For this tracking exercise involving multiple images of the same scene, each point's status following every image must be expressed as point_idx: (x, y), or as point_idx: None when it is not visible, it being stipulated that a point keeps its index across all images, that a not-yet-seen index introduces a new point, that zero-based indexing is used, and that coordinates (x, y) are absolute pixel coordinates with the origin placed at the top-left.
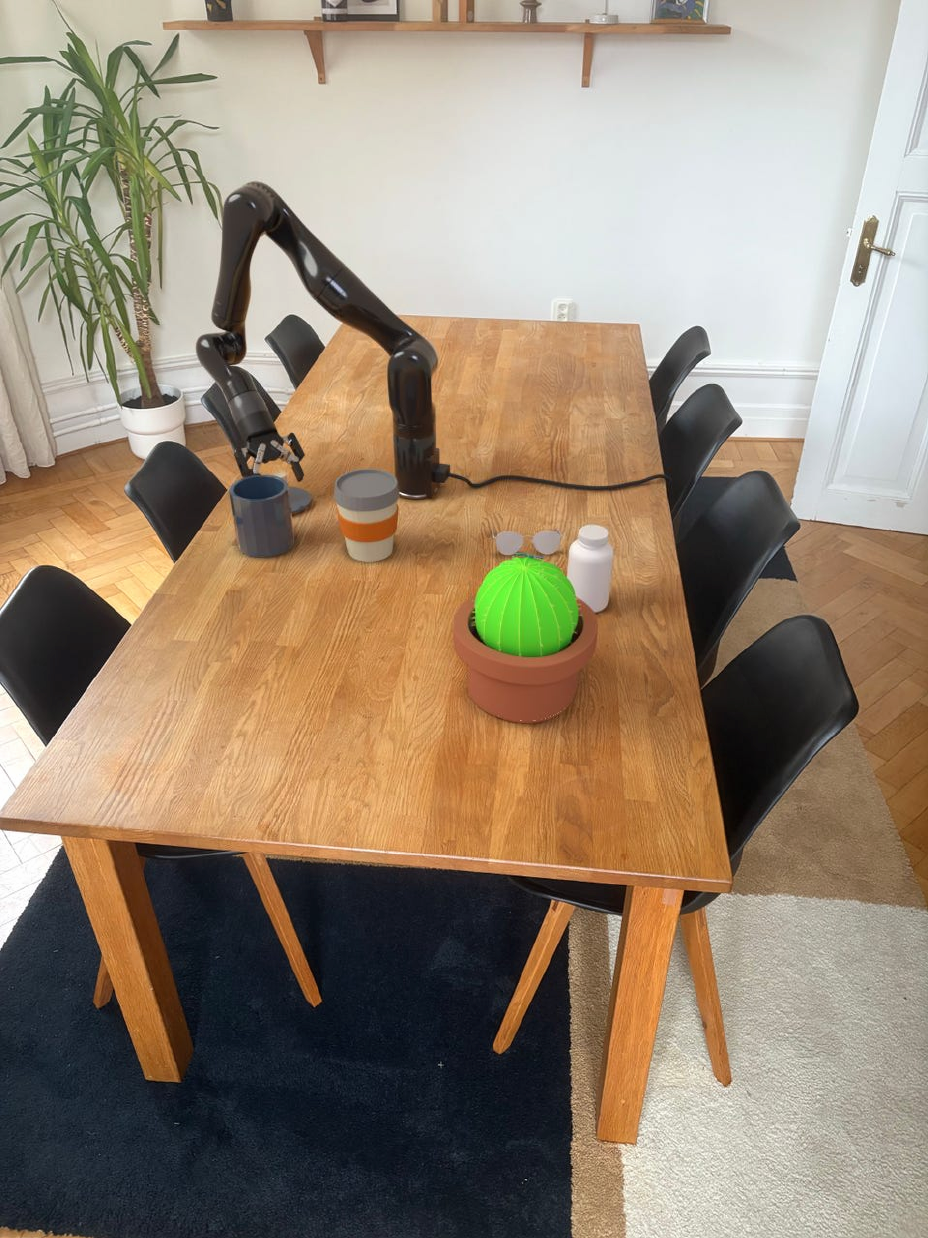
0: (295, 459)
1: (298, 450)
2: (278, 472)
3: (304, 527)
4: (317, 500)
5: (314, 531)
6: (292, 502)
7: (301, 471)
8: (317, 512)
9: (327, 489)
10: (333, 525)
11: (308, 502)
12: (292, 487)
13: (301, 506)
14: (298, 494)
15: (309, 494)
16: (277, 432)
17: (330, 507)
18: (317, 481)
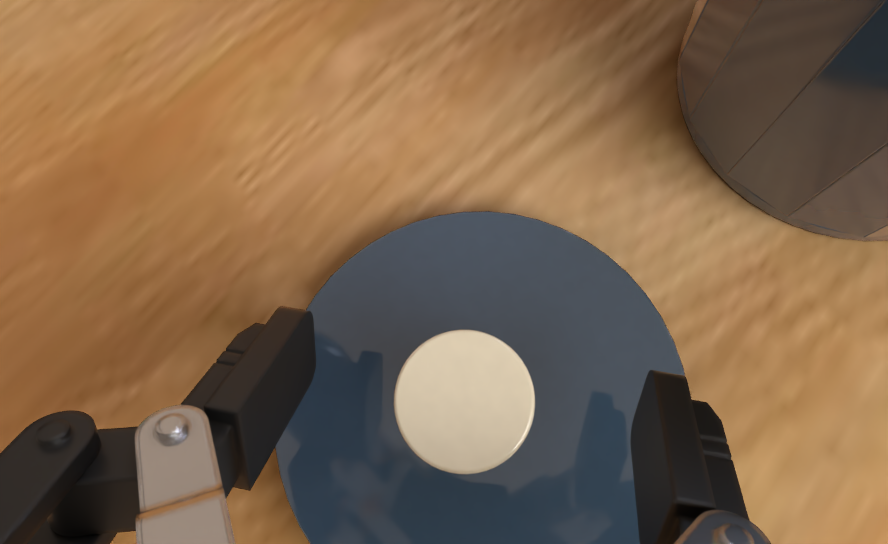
0: (184, 421)
1: (28, 491)
2: (445, 444)
3: (563, 84)
4: (290, 288)
5: (549, 17)
6: (455, 319)
7: (239, 354)
8: (394, 170)
9: (145, 361)
10: (431, 2)
11: (381, 242)
12: (306, 508)
13: (449, 230)
14: (349, 384)
15: None
16: None
17: (301, 166)
18: None
